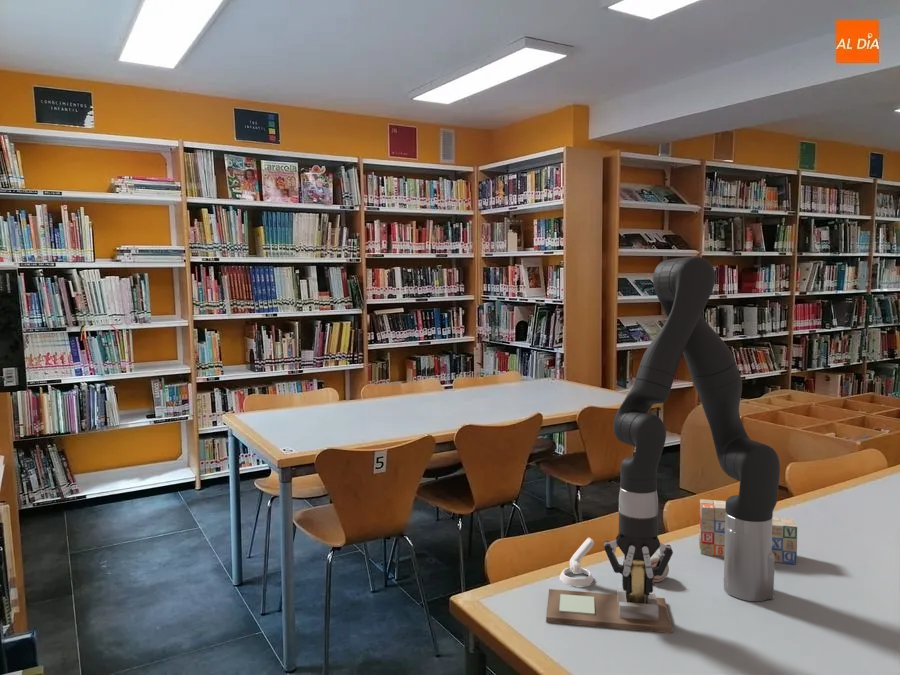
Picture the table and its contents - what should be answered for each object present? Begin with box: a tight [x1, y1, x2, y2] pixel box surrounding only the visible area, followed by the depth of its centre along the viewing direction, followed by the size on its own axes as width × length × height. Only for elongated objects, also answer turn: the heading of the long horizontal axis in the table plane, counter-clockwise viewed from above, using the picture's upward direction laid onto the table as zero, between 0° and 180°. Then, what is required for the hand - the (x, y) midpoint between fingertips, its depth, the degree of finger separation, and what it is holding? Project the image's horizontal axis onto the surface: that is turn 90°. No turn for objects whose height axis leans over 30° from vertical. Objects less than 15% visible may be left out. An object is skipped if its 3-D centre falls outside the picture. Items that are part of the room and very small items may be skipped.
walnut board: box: [545, 587, 673, 634], centre depth 133 cm, size 24×12×4 cm, turn 79°
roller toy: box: [650, 551, 670, 583], centre depth 147 cm, size 4×6×6 cm
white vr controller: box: [559, 537, 595, 587], centre depth 147 cm, size 8×12×7 cm
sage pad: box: [559, 594, 595, 615], centre depth 134 cm, size 7×7×1 cm
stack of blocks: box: [698, 498, 798, 565], centre depth 159 cm, size 21×6×12 cm, turn 72°
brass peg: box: [629, 559, 648, 604], centre depth 131 cm, size 4×4×11 cm
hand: (637, 592), depth 131 cm, fingers closed on brass peg, 3 cm apart
